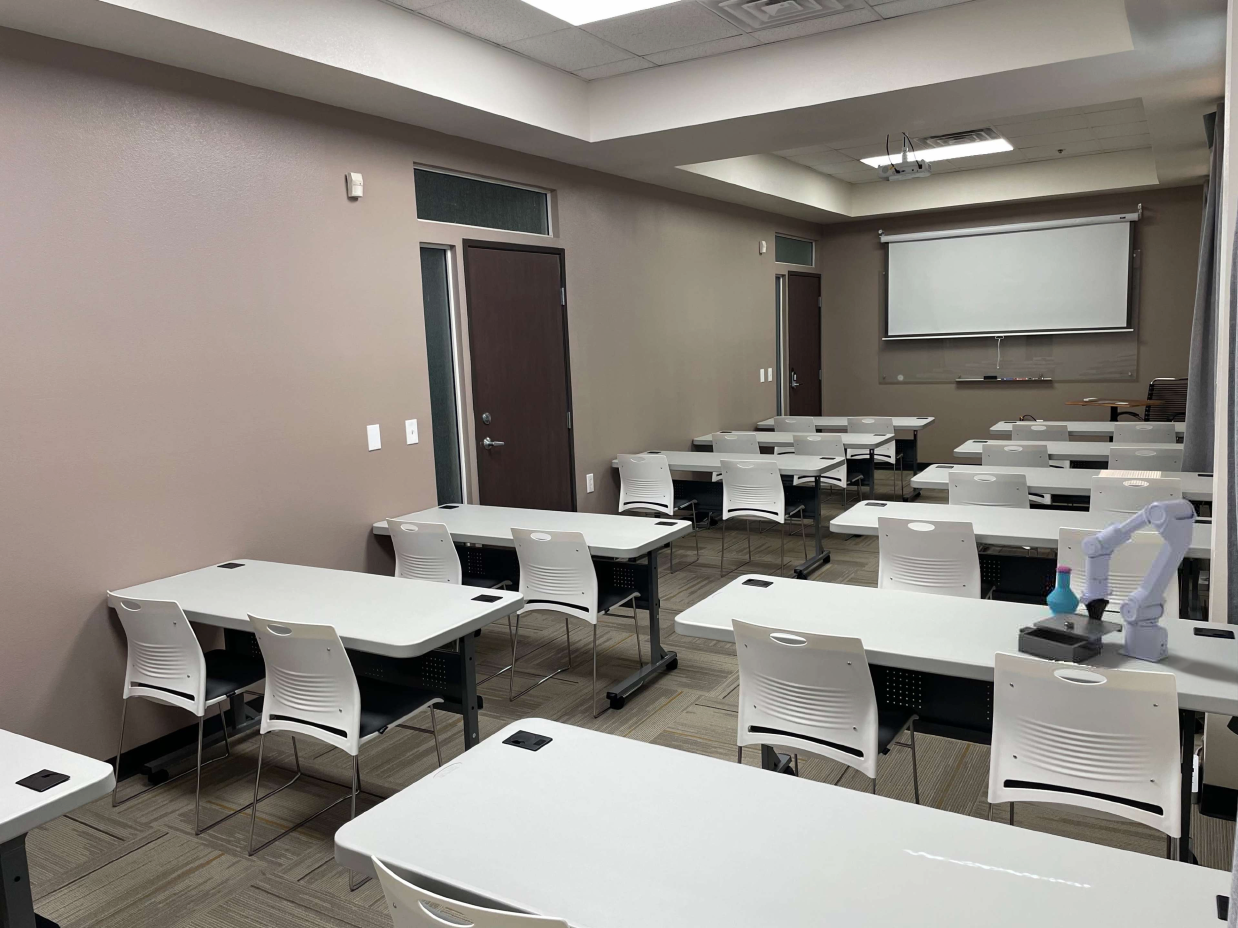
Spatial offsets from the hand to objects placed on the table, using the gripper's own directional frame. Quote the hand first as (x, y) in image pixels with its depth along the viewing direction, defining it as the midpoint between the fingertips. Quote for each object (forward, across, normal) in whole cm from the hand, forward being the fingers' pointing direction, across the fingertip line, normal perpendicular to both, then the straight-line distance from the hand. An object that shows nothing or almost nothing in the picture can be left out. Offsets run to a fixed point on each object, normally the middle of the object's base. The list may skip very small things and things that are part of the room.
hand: (1095, 623), depth 246 cm
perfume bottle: (+5, -16, -18) cm, 25 cm away
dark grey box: (+4, +19, 0) cm, 19 cm away
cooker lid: (0, +10, 0) cm, 10 cm away
